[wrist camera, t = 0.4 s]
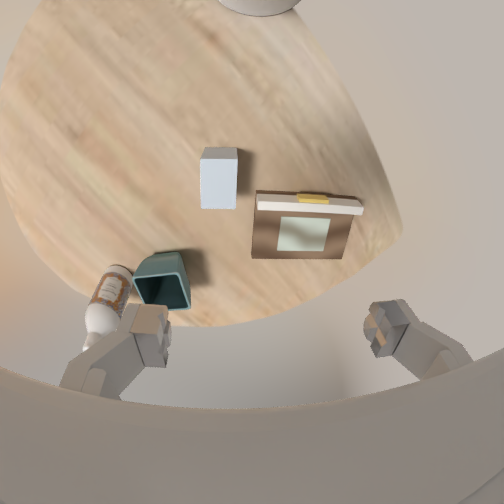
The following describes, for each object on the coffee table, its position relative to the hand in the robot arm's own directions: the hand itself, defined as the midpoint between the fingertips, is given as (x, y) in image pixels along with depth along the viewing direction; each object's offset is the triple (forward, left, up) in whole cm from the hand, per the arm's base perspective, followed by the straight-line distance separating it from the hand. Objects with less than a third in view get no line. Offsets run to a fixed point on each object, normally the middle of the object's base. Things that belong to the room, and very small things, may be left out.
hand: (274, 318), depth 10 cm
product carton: (+6, -3, -36) cm, 37 cm away
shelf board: (+16, +12, -36) cm, 41 cm away
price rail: (+10, +12, -35) cm, 38 cm away
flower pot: (+25, -13, -36) cm, 46 cm away
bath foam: (+29, -25, -36) cm, 53 cm away
